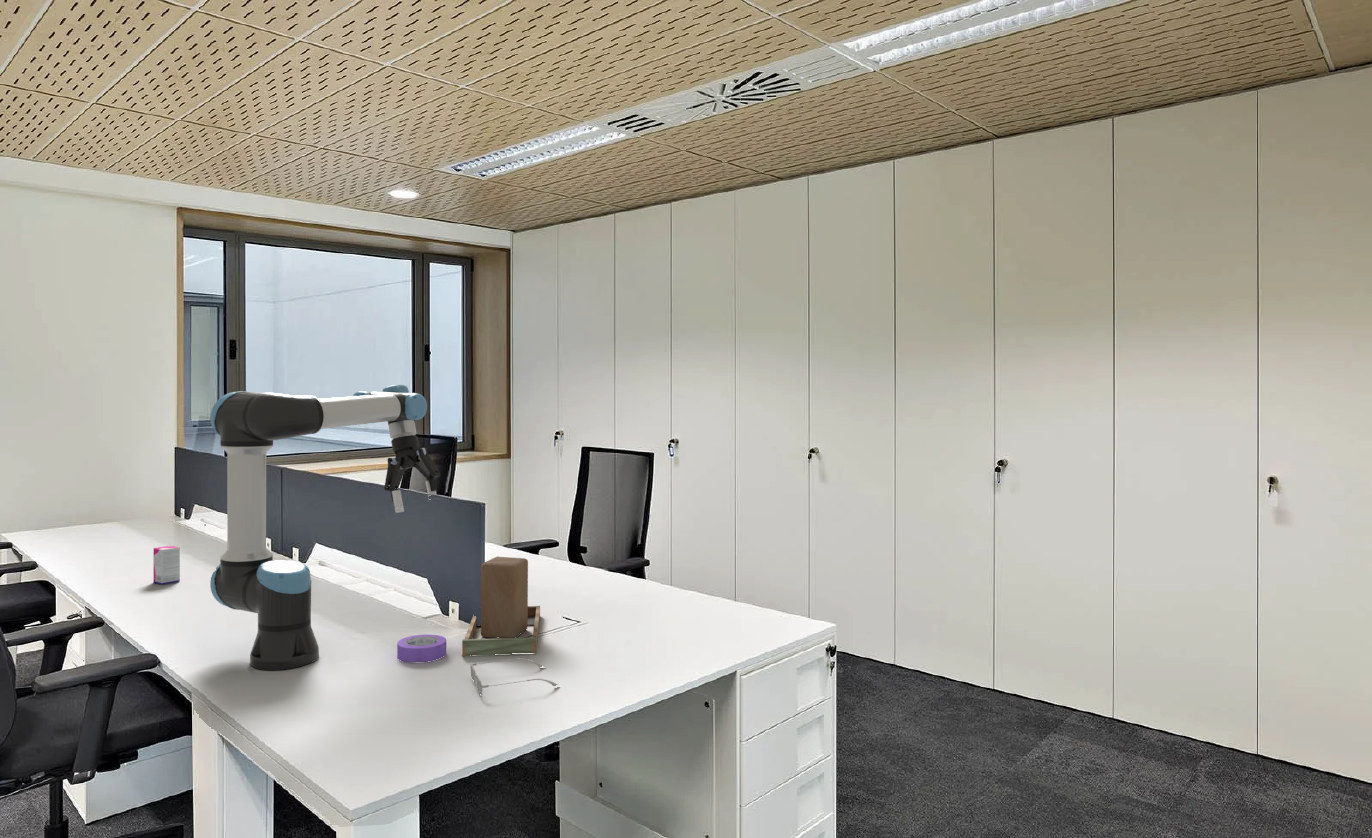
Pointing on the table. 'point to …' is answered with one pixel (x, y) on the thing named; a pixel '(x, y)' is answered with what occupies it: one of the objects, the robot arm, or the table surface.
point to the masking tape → (421, 648)
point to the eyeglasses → (480, 686)
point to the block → (504, 597)
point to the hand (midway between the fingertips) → (416, 507)
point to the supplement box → (166, 565)
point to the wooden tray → (502, 639)
